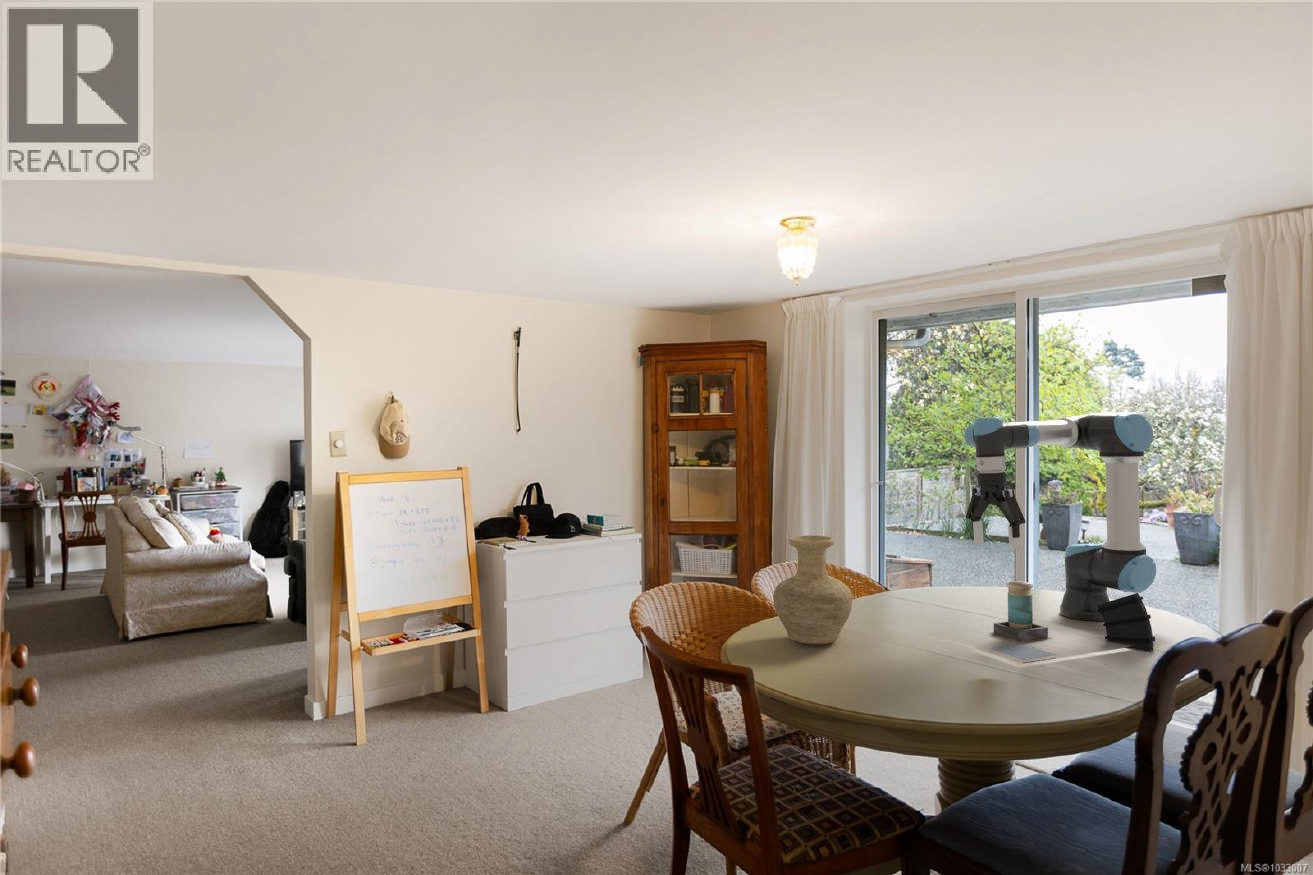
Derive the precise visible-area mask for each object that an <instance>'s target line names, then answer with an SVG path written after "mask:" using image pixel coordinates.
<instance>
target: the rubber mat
mask: <svg viewBox="0 0 1313 875" xmlns="http://www.w3.org/2000/svg"><path fill="white" fill-rule="evenodd" d="M992 650H994V651H997V652H999V653H1003V654H1006V655H1009V656H1012V657H1014V658H1018V659H1020V660H1023V661H1025V660H1031V659H1036V658H1037V659H1038V658H1043V657H1049V656H1056V655H1057V654H1055V653H1052V652H1049V651H1046V650H1042V649H1039V648H1036V647H1033V646H1031V645H1026V644H1025V643H1020V644H1015V645H1008V646H1002V647H1000V646H999V647H994V648H992ZM1046 659H1047V658H1046ZM1046 659H1045V658H1044V659H1043V661H1047V660H1046ZM1054 659H1056V657H1051V658H1050V660H1054ZM1040 660H1041V659H1039V660H1033V661H1026V662H1024V664H1028V663H1035V662H1041V661H1040Z"/></svg>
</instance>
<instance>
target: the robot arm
mask: <svg viewBox="0 0 1313 875" xmlns="http://www.w3.org/2000/svg"><path fill="white" fill-rule="evenodd" d="M964 440H965V442H966V444H967V445H968V446H970V447H971V448H975V457H976V461H975V462H976V471H978V473H977V475H976V476H977V485H978V486H979V487H973V488H971V497H970V501H969V505H968V508H967V512H966V515H965V518H966V519H968V520H969V521H971V527H972V532H973V540H974V541H973V543H974V545H982V544H984V542H985V541H984V528H983V527H984V526H983V521H982V517H983V515H984V513H985V512H986V510H987V508H988V507H989V506H990V505H992V506H996V508H997V507H998V508H999V510H1000V511H1001V513H1002V514H1003V516H1004V517H1005V519H1006V521H1008V523H1009V525H1007V529H1008V531H1007V532H1008V543H1009V546H1008V547H1009V550H1010V551H1013V550H1020V537H1021V533H1020V528H1021V527H1020V526H1021V525H1023V524H1026V518H1025V516H1024V514H1023V512H1022V510H1021V508H1020V506H1019V503H1018V500H1017V499H1016V494H1015V489H1006V488H1005V486H1006V485H1007V473H1006V472H1005V471H1006V470H1007V466H1006V453H1005V450H1010V449H1011V450H1012V449H1027V448H1032V447H1035V446H1036V447H1037V446H1059V447H1061V448H1064V449H1065V448H1066V449H1067V448H1068V449H1069V448H1073V449H1082V450H1092V451H1099V458H1100V459H1101V460H1102V461H1103V462H1104V463H1105V465H1104V466H1105V498H1106V499H1105V501H1106V502H1105V504H1106V539H1107V540H1106V541H1105V542H1104V543H1099V542H1096V543H1092V542H1091V543H1077V544H1076V543H1073V544H1069V545H1067V546H1066V548H1065V550H1064V551H1065V552H1064V554H1065V555H1064V572H1065V573H1064V574H1065V592H1064V594H1063V598H1062V599H1061V600H1062V601H1061V604H1060V606H1059V614H1060V615H1062V616H1063V617H1066V618H1070V619H1074V620H1081V621H1092V622H1093V621H1094V622H1097V621H1098V622H1102V621H1103V622H1104V620H1103V617H1102V615H1101V613H1098V612H1097V610H1098V607H1097V605H1099V604H1102V603H1106V602H1109V601H1111V600H1110V597H1109V594H1108V588H1109V589H1113V590H1116V591H1121V592H1123V593H1133V594H1136V593H1138V594H1139V593H1142V592H1145V591H1147V590H1148V589H1149V588H1150V587H1151V585H1153V583H1154V581H1155V579H1156V576H1157V565H1156V562H1155V561H1154V559H1153V558H1152V557H1150V556H1149V555H1147V547H1146V546H1145V545H1144V544H1143V543H1142V542H1141V527H1140V525H1141V523H1140V485H1139V484H1140V483H1139V482H1140V479H1139V478H1140V477H1139V462H1140V461H1142V459H1143V458H1145V451H1147V450H1148V449H1150V447H1151V444H1153V441H1154V430H1153V428H1152V425H1151V422H1150V421H1149V420H1148V419H1147V418H1146V417H1145V416H1144V415H1142V414H1141V413H1138V412H1132V411H1131V412H1129V411H1128V412H1127V411H1122V412H1120V411H1119V412H1101V413H1100V412H1096V413H1088V414H1082V415H1076V416H1068V417H1067V416H1066V417H1065V416H1063V417H1060V418H1059V419H1058V420H1041V421H1039V420H1037V421H1025V420H1024V421H1022V420H1021V421H1010V422H1009V421H1006V422H1005V421H1003V418H1002V417H1001V416H990V417H978V418H976V419H975V420H974V422H973V423H971V424H969V425H968V426H967V427H966V428H965V430H964Z"/></svg>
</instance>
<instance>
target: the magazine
mask: <svg viewBox="0 0 1313 875" xmlns="http://www.w3.org/2000/svg"><path fill="white" fill-rule="evenodd" d="M1143 600H1144V597H1143V596H1140V594H1139V593H1133V594H1129V595H1126V596H1123V597H1119V598H1115V599H1112V600H1110V601H1109V602H1106V603H1102V604H1099V605H1097V607H1098V610H1097V612H1098V613H1101V615H1102V617H1103V620H1104V621H1103V622H1104V623H1103V624H1102V626H1103V627H1105V631H1106V635H1105V636H1104V640H1106V642H1111V643H1117V644H1121V645H1127V646H1124V649H1126V648H1127V649H1131V650H1136V651H1143V652H1147V653H1150V652H1152V651H1154V642H1155V641H1156V636H1153V628H1152V624H1151V621H1150V620H1151V618H1152V616H1151V614H1148V611H1147V608H1146V606H1145V604H1144V602H1143Z"/></svg>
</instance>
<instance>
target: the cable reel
mask: <svg viewBox="0 0 1313 875" xmlns="http://www.w3.org/2000/svg"><path fill="white" fill-rule="evenodd" d="M1006 587H1008V588H1007V590H1008V592H1007V621H1008V622H1009V627H1011V628H1014V629H1018V630H1026V629H1032V623H1034V621H1033V618H1034V617H1033V615H1034V613H1033V594H1032V589H1033V587H1034V584H1033V583H1031V582H1028V581H1027V582H1026V581H1020V580H1019V581H1014V580H1013V581H1007V582H1006Z"/></svg>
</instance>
